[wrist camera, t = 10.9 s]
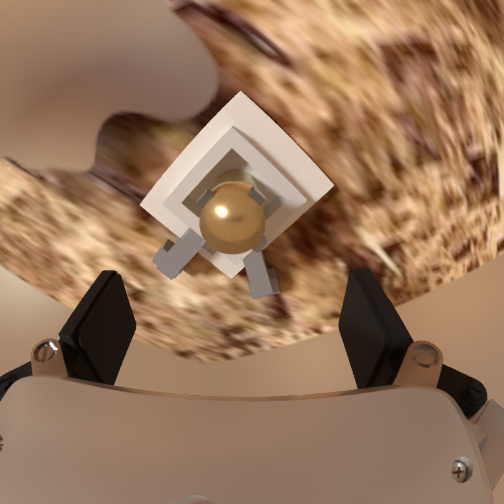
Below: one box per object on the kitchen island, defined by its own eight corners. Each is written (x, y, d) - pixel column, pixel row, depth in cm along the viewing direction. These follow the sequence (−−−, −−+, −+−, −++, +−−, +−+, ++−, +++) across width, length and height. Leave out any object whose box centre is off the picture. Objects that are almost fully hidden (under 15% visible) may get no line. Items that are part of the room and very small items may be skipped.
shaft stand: (356, 213, 28) (371, 228, 24) (239, 313, 33) (239, 336, 30) (240, 92, 22) (240, 88, 18) (125, 225, 28) (111, 242, 24)
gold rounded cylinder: (276, 190, 25) (290, 222, 18) (237, 229, 26) (236, 274, 19) (232, 151, 23) (228, 167, 16) (195, 194, 25) (175, 228, 18)
